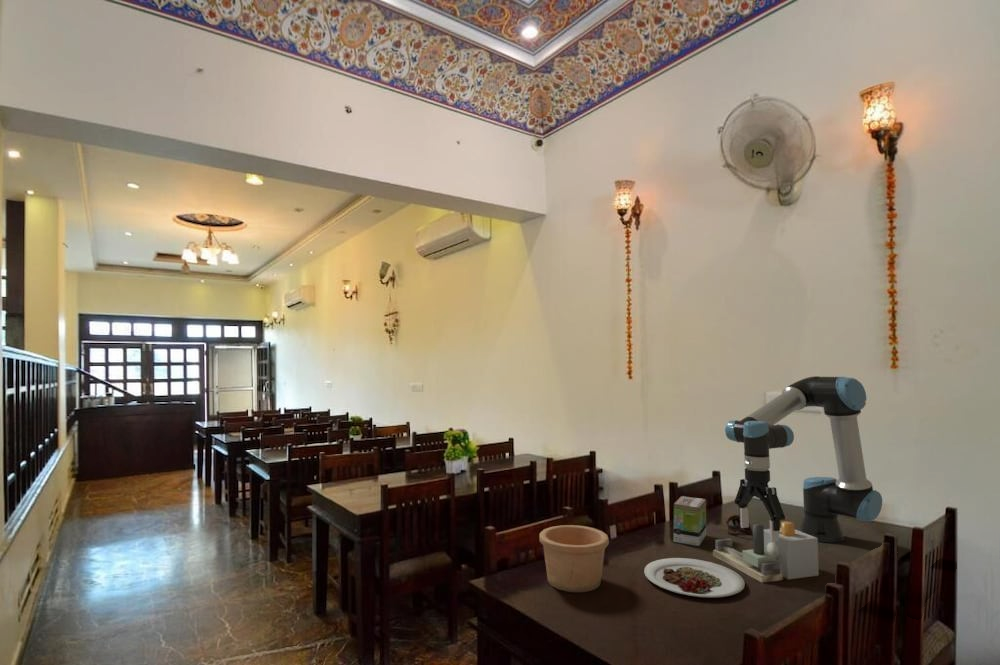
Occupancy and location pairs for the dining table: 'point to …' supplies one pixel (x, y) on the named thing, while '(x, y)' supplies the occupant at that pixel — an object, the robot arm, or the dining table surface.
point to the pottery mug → (736, 524)
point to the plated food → (694, 577)
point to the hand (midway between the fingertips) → (759, 533)
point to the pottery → (574, 557)
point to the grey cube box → (794, 554)
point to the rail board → (735, 559)
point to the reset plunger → (787, 528)
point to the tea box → (689, 520)
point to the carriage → (758, 548)
